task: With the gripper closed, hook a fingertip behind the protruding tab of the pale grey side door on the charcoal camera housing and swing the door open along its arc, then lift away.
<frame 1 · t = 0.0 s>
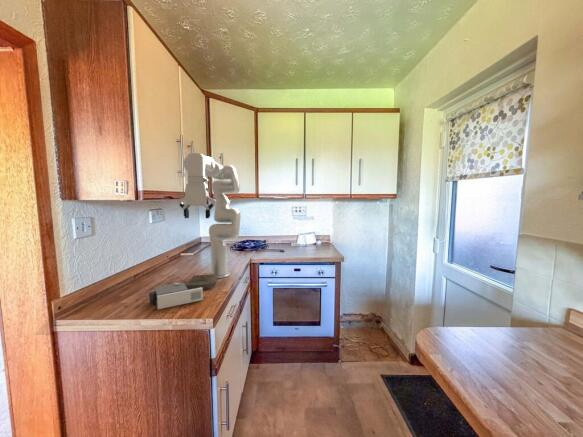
hand: (197, 218, 112), 37 cm above the kitchen counter, tool pointing down, fingers open, 9 cm apart
side door: (181, 298, 104), point 3 cm above the kitchen counter, hinge at 0.0°
marble piece: (200, 286, 129), on the kitchen counter
camera housing: (171, 300, 109), on the kitchen counter
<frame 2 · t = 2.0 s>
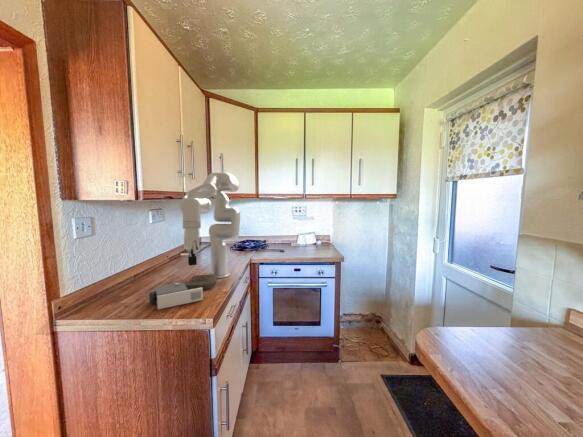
hand: (192, 264, 110), 16 cm above the kitchen counter, tool pointing down, fingers closed
nothing on the kitchen counter moved.
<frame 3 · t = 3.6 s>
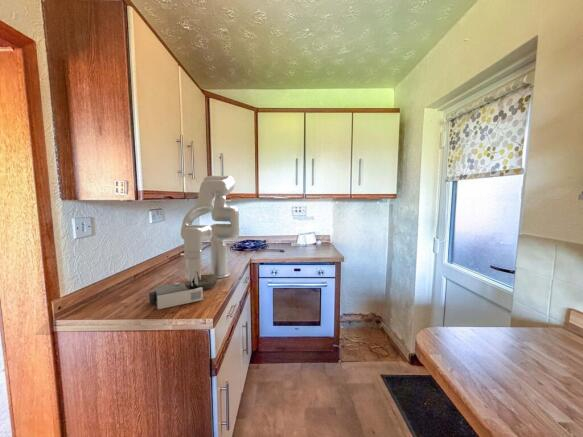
hand: (194, 293, 110), 3 cm above the kitchen counter, tool pointing down, fingers closed
side door: (181, 298, 104), point 3 cm above the kitchen counter, hinge at 0.1°, touching gripper
everything else where it was.
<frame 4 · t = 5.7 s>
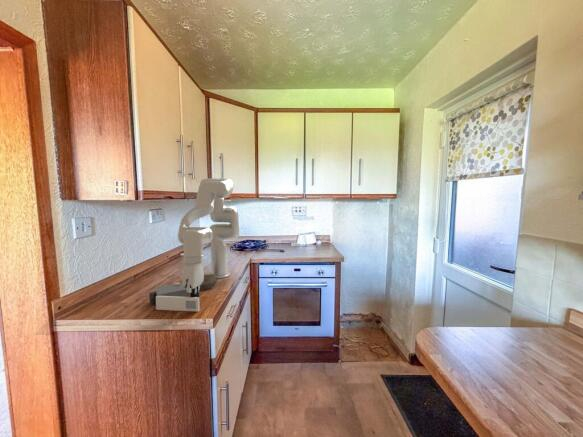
hand: (194, 302, 101), 3 cm above the kitchen counter, tool pointing down, fingers closed
side door: (177, 303, 99), point 3 cm above the kitchen counter, hinge at 38.3°, touching gripper
everything else where it was.
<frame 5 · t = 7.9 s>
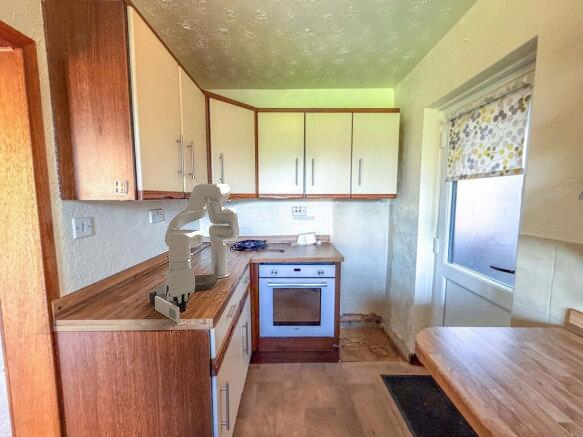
hand: (181, 311, 93), 3 cm above the kitchen counter, tool pointing down, fingers closed
side door: (166, 308, 94), point 3 cm above the kitchen counter, hinge at 71.7°
everything else where it was.
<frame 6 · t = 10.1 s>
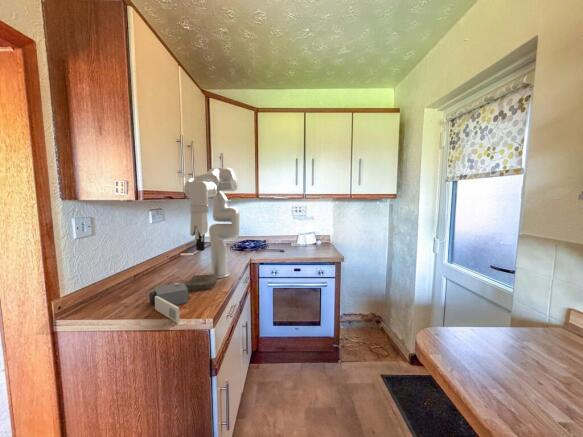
hand: (200, 250, 108), 23 cm above the kitchen counter, tool pointing down, fingers closed
nothing on the kitchen counter moved.
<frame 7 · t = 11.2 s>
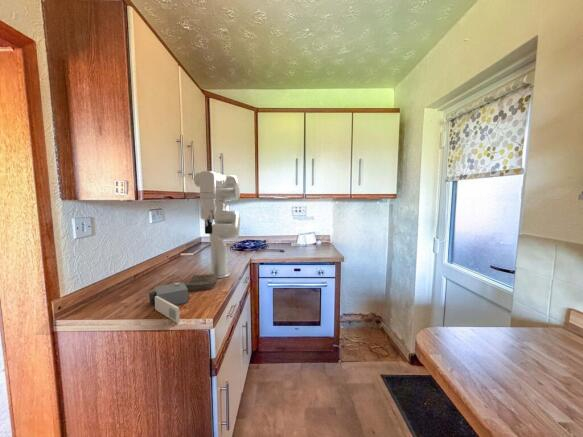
hand: (208, 233, 120), 29 cm above the kitchen counter, tool pointing down, fingers closed
nothing on the kitchen counter moved.
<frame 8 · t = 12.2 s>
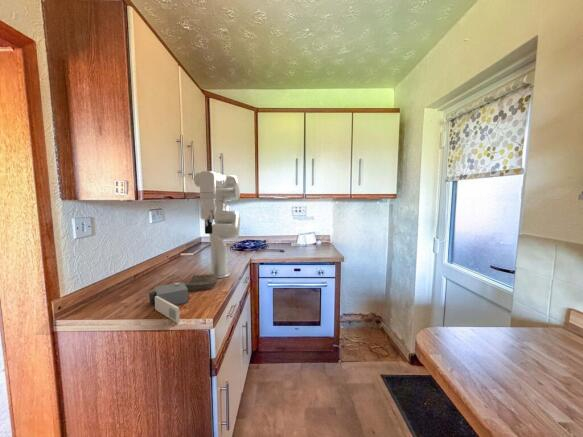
hand: (208, 233, 120), 29 cm above the kitchen counter, tool pointing down, fingers closed
nothing on the kitchen counter moved.
at the end: side door at +72° (first picture: +0°); marble piece moved 0.6 cm from its start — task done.
